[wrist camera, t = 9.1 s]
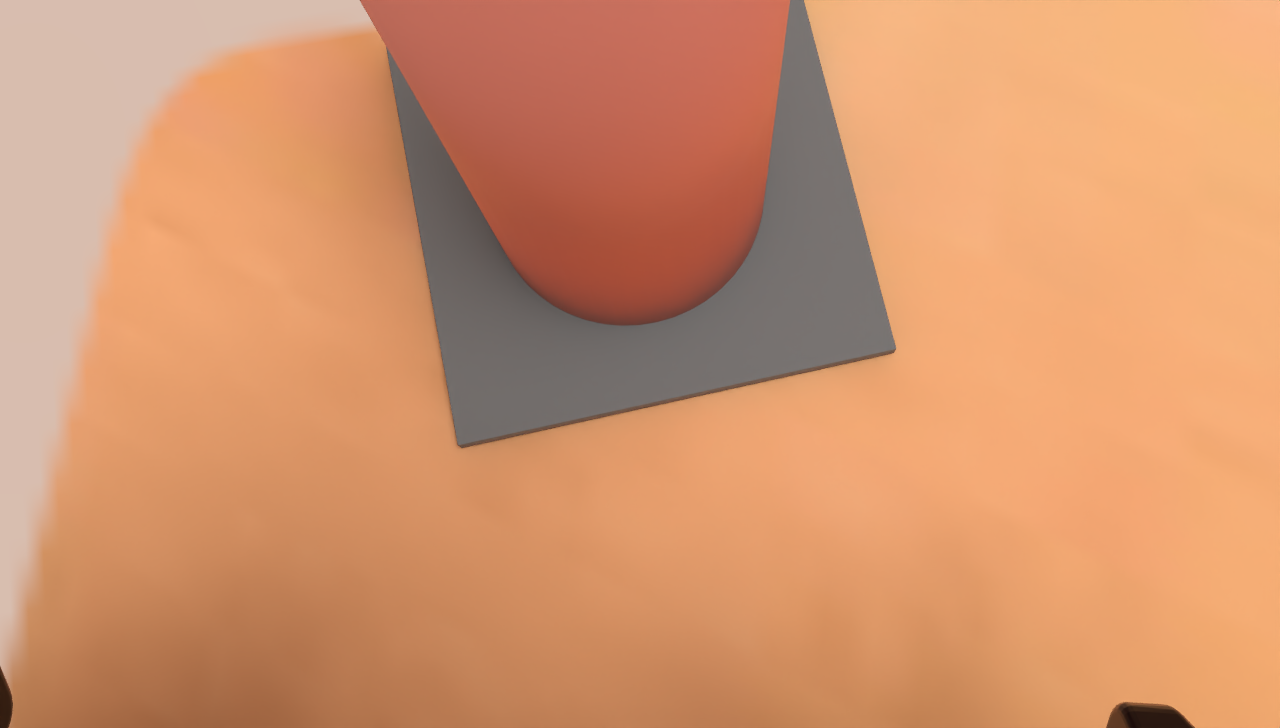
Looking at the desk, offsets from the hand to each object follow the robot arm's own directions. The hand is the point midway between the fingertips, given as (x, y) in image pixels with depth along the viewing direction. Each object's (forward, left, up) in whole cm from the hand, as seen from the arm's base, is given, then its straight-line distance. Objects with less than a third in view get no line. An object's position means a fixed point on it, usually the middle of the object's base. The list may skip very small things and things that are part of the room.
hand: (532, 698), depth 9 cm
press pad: (+7, -2, -9) cm, 12 cm away
